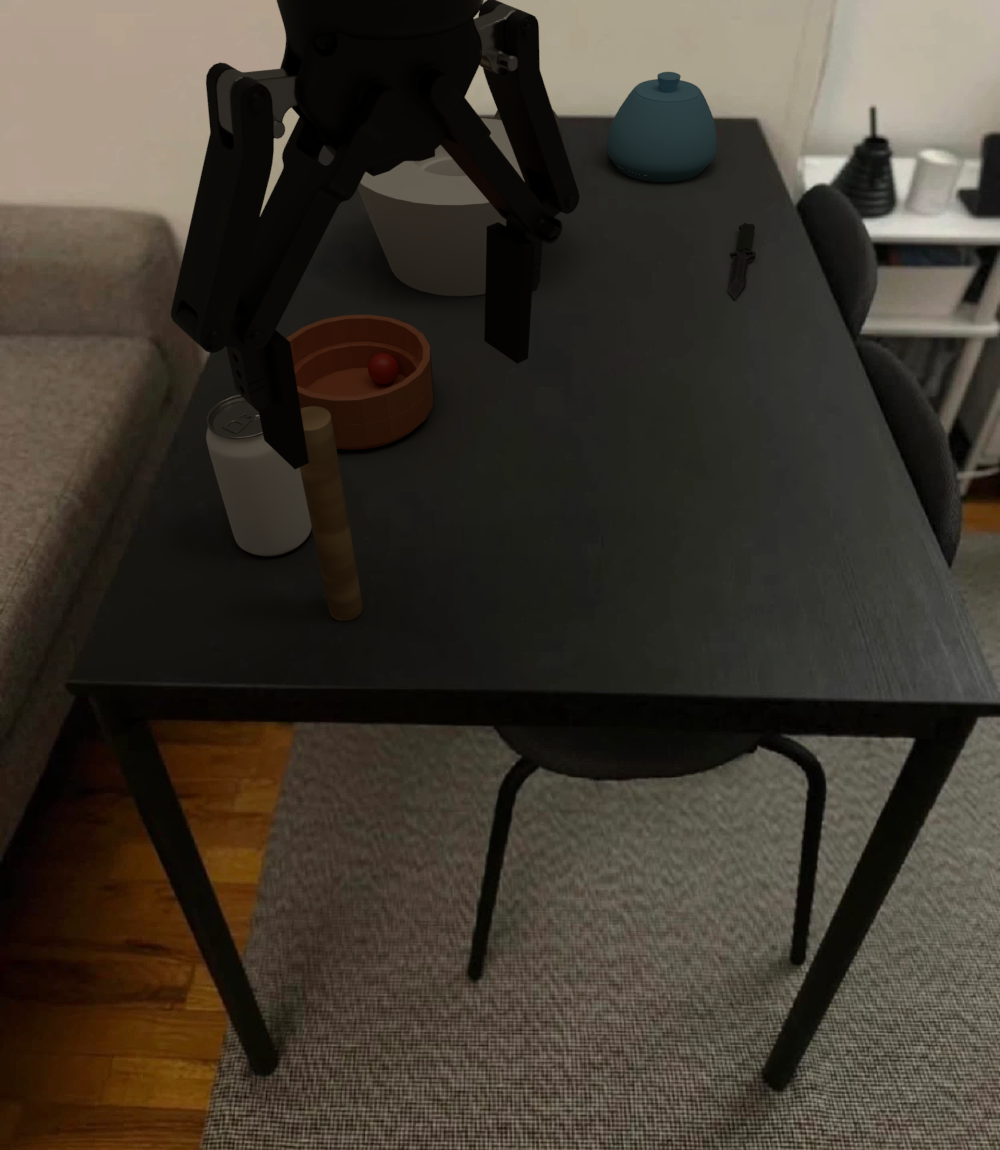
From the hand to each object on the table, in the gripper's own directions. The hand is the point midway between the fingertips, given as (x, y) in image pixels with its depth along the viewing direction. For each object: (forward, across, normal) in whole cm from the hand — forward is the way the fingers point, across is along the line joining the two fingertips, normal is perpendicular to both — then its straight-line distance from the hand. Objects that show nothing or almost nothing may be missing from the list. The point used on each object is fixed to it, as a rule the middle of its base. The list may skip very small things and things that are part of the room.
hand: (403, 398), depth 47 cm
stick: (+27, +1, +11) cm, 29 cm away
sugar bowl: (+28, +82, +52) cm, 101 cm away
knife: (+27, +67, +26) cm, 77 cm away
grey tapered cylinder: (+28, +43, +49) cm, 71 cm away
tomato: (+25, +21, +33) cm, 46 cm away
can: (+27, +1, +22) cm, 35 cm away
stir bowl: (+27, +17, +32) cm, 45 cm away
